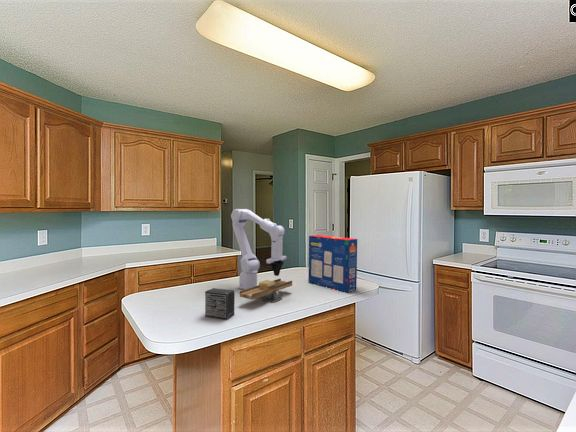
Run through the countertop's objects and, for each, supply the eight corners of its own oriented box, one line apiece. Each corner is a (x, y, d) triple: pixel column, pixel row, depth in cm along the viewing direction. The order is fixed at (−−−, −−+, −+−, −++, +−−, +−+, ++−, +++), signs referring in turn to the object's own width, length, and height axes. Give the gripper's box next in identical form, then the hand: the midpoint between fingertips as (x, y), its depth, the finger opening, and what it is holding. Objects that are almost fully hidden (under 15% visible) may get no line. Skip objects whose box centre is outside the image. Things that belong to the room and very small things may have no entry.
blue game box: (356, 290, 163) (357, 239, 162) (347, 293, 158) (348, 240, 157) (317, 280, 184) (318, 234, 183) (308, 282, 178) (309, 235, 177)
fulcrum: (253, 298, 147) (253, 288, 147) (262, 294, 153) (262, 285, 153) (273, 303, 141) (273, 292, 140) (282, 299, 146) (282, 289, 146)
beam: (239, 296, 136) (239, 291, 136) (279, 283, 162) (279, 278, 162) (253, 299, 132) (253, 294, 132) (292, 285, 157) (292, 280, 157)
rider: (258, 288, 145) (258, 282, 145) (266, 286, 150) (266, 280, 150) (267, 290, 142) (267, 283, 142) (274, 287, 147) (274, 281, 147)
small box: (235, 314, 125) (235, 289, 125) (227, 320, 119) (227, 294, 119) (213, 311, 129) (213, 287, 128) (204, 316, 123) (204, 291, 122)
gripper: (274, 251, 147) (274, 279, 148) (291, 248, 159) (291, 274, 159) (263, 250, 151) (263, 277, 152) (280, 247, 163) (280, 272, 163)
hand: (276, 275), depth 156 cm, fingers closed
